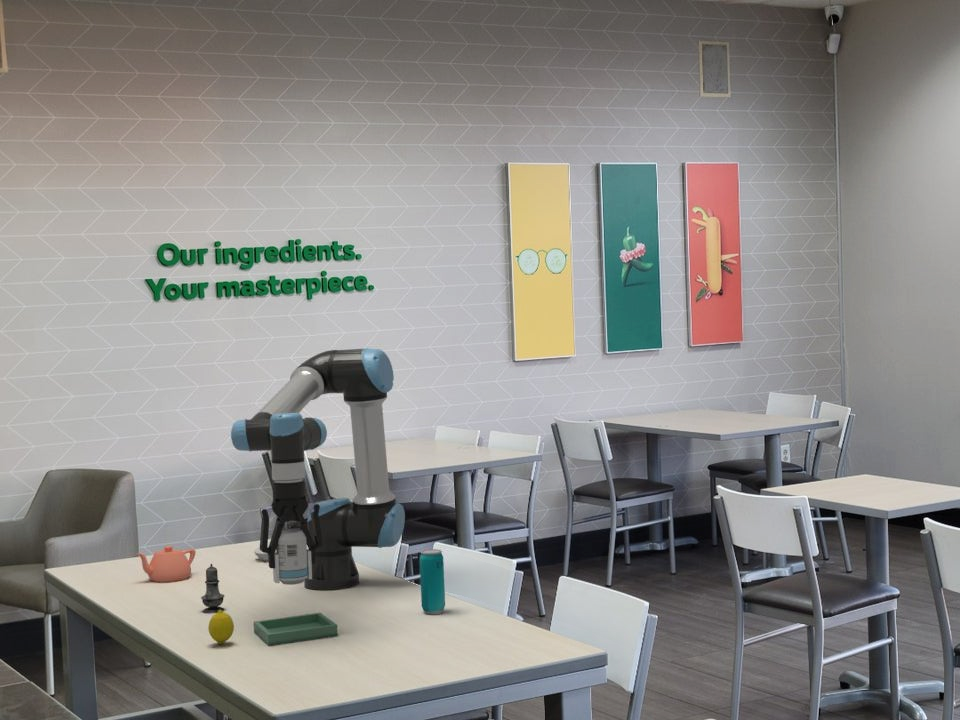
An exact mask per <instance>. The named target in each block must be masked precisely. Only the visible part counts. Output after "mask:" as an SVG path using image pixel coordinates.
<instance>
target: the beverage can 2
mask: <svg viewBox="0 0 960 720" xmlns="http://www.w3.org/2000/svg"><path fill="white" fill-rule="evenodd" d="M442 552H443V551H442V549H437V548H434V549H433V548H432V549H423V550H421V551H420V556H419V574H420V576H419V577H420V578H419V580H420V598H421V601H420V602H421V609H422V610H423V612H424V614H425V615H430V614H434V615H439V614H442V613H443V612H444V610H445V607H446V592H445V591H446V590H445V588H446V587H445V570H444V569H445V567H444V556H443V553H442Z"/></svg>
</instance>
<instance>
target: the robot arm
mask: <svg viewBox="0 0 960 720" xmlns="http://www.w3.org/2000/svg"><path fill="white" fill-rule="evenodd" d="M393 388H394V370H393V366H392V362H391V361H390V358H389V356H388V355H387V353H386V352H385V351H384V350H382V349H379V348H368V347H367V348H354V349H353V348H352V349H330V350H326V351H323V352H320V353H318V354H317V353H316V354H315V355H313V356H312V357H310V358H308V359H307V360H305V361H304V362H302V363H301V364H300V365H299V366H297V367H296V368H295V369H293V371H292V373H291V375H290V379H289V381H288V382H287V383H285V384H284V385H283V387H282V388H281V389H279V390H278V391H277V393H276V394H275V395H273V397H272V398H270V400H268V401H267V403H265V404H264V406H263V407H262V408H260V410H259V411H257V412H256V414H255V415H253V416H252V418H250V419H247V418H244V419H238V420H236V421H235V422H233V424H232V427H231V431H230V438H231V443H232V445H233V447H234V448H235V449H236V450H238V451H243V452H244V451H245V452H266V451H270V455H271V460H270V461H271V479H272V480H273V482H272V484H271V487H272V488H271V489H272V503H271V505H270V506H267V507H266V508H265V507H262V508H259V515H260V517H261V525H260V527H261V528H260V537H259V538H260V539H259V548H260V551H262V552H263V553H267V554H268V561H267V562H268V568H270V569H272V575H273V582H274V583H275V584H280V582H281V581H280V578H279V555H278V554H277V553H275V551H276V548H277V545H278V542H279V538H280V535H281V532H282V530H283V528H284V526H285V523H287V522H291V521H292V522H296V524H297V525H298V527H299V529H301V530H303V532H304V534H305V536H306V542H307V566H308V578H307V579H305V580H304V582H303V585H304V586H303V587H305V588H306V589H309V590H310V589H311V590H317V591H318V590H319V591H321V590H322V591H323V590H325V591H326V590H327V591H329V590H339V589H340V590H341V589H346V588H350V587H354V586H357V585H359V584H360V573H359V570H358V567H357V565H356V562H355V559H354V557H353V548H379V549H382V548H392V547H394V546H396V545H397V544H398V543H399V541H400V539H401V538H402V537H403V532H404V529H405V521H406V520H405V519H406V513H405V509H404V506H403V505H402V504H401V503H397V501H396V495H395V494H394V493H393V492H392V491H391V489H390V483H389V473H388V472H389V471H388V461H387V447H386V435H385V433H386V432H385V425H384V412H383V404H384V402H385V401H386V400H387V398H388V393H389V392H390V391H392V389H393ZM326 394H327V395H328V394H343V395H342V396H343V402H344V403H345V404H347V405H348V406H349V408H350V419H351V431H352V432H351V433H352V441H353V443H352V444H353V454H354V466H355V477H356V478H355V479H356V487H357V488H356V490H357V491H356V495H355V496H354V497H353V498H352V503H351V499H350V498H349V497H342V498H341V497H339V498H333V499H327V500H322V501H318V502H313V503H311V502H308V500H307V495H306V494H307V493H306V490H307V489H306V481H305V480H304V479H305V478H306V471H305V470H306V469H305V468H306V467H305V466H306V465H305V451H310V450H311V451H313V450H315V449H317V448H319V447H321V446H322V445H323V444H324V443H325V442H326V440H327V436H328V432H327V431H328V430H327V427H326V425H325V424H324V422H323V421H322V420H321V419H320V418H317V417H304V418H303V416H302V414H301V412H302V410H303V409H304V408H306V406H307V405H308V404H309V403H310V402H311V401H314V400H317V399H318V398H320V397H321V396H322V395H326ZM306 511H307V520H305V517H304V514H305V512H306ZM272 512H273V513H274V514H275V516H276V519H275V524H274V525H275V526H274V528H273V531H272V535H271V539H270V541H269V531H270V518H271V516H272ZM306 521H307V522H306ZM306 523H307V524H306ZM268 545H269V547H268Z"/></svg>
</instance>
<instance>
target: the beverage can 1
mask: <svg viewBox="0 0 960 720" xmlns="http://www.w3.org/2000/svg"><path fill="white" fill-rule="evenodd" d="M307 549H308V546H307V542H306V536H305V534H304V532H303V530H301V529H300V527H299V528H297V527H296V528H284V529H282V532H281V535H280V538H279V542H278V545H277V548H276V553H277V554H278V555H279V578H280V582H281V584H283V585H287V586H289V585H291V586H292V585H299V584H302V583H303V584H304V580H305V579H307V578H308V566H307Z"/></svg>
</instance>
